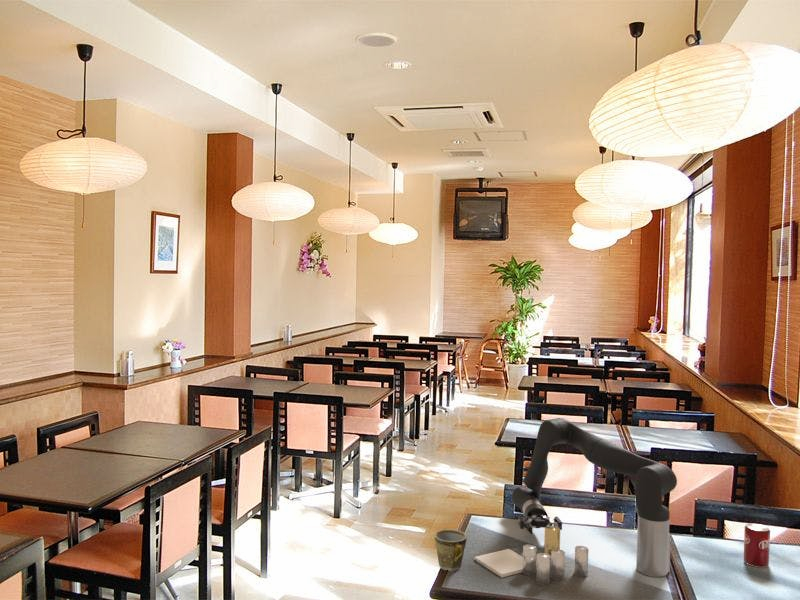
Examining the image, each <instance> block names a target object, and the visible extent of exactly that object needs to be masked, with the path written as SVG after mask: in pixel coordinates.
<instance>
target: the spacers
mask: <svg viewBox="0 0 800 600" xmlns="http://www.w3.org/2000/svg"><path fill="white" fill-rule="evenodd" d="M565 554H566V552H565V551H564V550H563V549H561V548H560V549H553V550H552V551H551V556H550V555H549V554H547V553H544V552H539V553H537V546H536V545H533V544H524V545H523V546H522V557H523V572H522V573H523V575H525V576H529V577H532V576H535V578H536V580H535V582H536V583H537V584H538V585H540V586H548V585H550V583H551V579H552V580H554V581H558V582H561V581H564V580H565V561H566V557H565V556H566V555H565ZM550 559H551V569H550ZM536 565H537V568H536ZM573 574H574V575H575V576H576V577H580V578H585V577H588V576H589V547H587V546H584V545H576V546H575V547H574V572H573Z"/></svg>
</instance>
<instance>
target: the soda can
mask: <svg viewBox="0 0 800 600" xmlns="http://www.w3.org/2000/svg"><path fill="white" fill-rule="evenodd" d="M743 534H744V536H743V539H744V540H743V561H744V563H745V562H746V563H748V564H750V565H753V566H757V567H756V568H758V567H765V568H767V567H768V566H769V565H770V551H771V550H770V545H771V530H770V528H769V527H768V526H766V525H763V524H761V523H760V524H759V523H751V522H750V523H747V524H745V525H744V533H743ZM746 563H745V564H746ZM748 564H747V565H748ZM750 565H749V566H750ZM753 566H752V567H753Z"/></svg>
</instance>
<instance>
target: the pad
mask: <svg viewBox="0 0 800 600" xmlns="http://www.w3.org/2000/svg"><path fill="white" fill-rule="evenodd" d="M475 560H476V561H475ZM474 561H475V562H477V563H478V564H480V565H481V566H484V567H485V568H486V569H488V570H490V571H491V572H493V573H494V574H495V575H497V576H499V577H500V578H505V577H509V576H513V575H516V574H521V573H523V555H520V553H517V552H515V551H514V550H512V549H511V548H506V549H503V550H499V551H494V552H489V553H485V554H481V555H477V556H474ZM536 569H537V564H536Z"/></svg>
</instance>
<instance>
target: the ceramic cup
mask: <svg viewBox="0 0 800 600" xmlns="http://www.w3.org/2000/svg"><path fill="white" fill-rule="evenodd" d="M467 537H468V536H467V534H466V533H465V532H463V531H462V530H457V529H451V528H450V529H441V530H438V531H436V532H435V534H434V541H435V542H434V543H435V547H436V554H437V560H438V561H437V563H438V566H439V567H440V568H441V570H443V569H444V570H443V571H446V570H448V571H447V572H455V570H457V571H459V570H460V569H459V568H461V567H462V563H463V560H464V559H463V558H464V554H465V553H464V552H465V549H466V545H467ZM442 565H443V566H442Z"/></svg>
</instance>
